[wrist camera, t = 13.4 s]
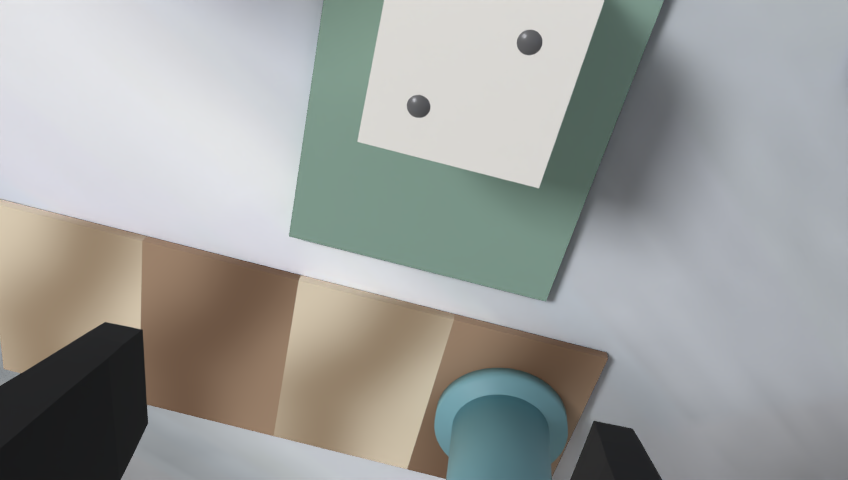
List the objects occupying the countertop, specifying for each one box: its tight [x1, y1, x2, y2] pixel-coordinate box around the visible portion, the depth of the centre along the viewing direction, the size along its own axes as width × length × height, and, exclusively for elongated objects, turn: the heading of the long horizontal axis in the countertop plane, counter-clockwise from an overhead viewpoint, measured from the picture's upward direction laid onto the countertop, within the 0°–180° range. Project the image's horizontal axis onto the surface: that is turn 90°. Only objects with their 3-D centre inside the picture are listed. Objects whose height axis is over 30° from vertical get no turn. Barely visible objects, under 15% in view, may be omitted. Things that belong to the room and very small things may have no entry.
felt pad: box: [289, 0, 664, 301], centre depth 18 cm, size 8×10×1 cm
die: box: [357, 0, 604, 188], centre depth 15 cm, size 4×4×4 cm
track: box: [0, 199, 608, 479], centre depth 23 cm, size 20×7×1 cm, turn 77°
